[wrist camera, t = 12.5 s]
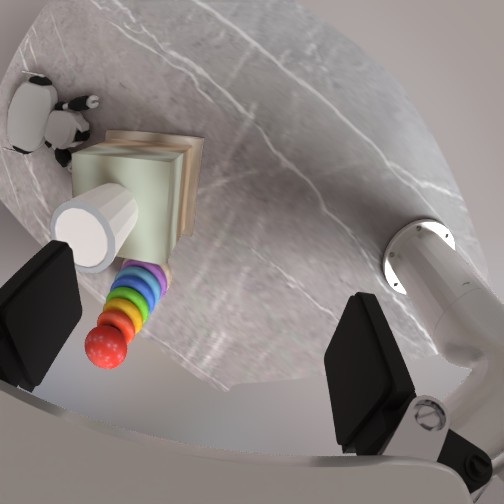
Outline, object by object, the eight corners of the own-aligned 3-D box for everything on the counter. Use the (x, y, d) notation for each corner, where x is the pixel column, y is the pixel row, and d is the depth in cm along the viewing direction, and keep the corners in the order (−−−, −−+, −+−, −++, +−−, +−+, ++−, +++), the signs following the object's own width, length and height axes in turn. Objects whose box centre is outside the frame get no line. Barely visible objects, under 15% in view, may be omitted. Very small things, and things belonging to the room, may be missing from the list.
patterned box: (204, 137, 36) (182, 153, 26) (193, 232, 42) (173, 274, 32) (109, 129, 35) (64, 144, 26) (108, 218, 41) (70, 254, 32)
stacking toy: (122, 244, 43) (59, 326, 27) (172, 250, 43) (126, 342, 27) (127, 288, 47) (78, 374, 30) (174, 294, 47) (138, 390, 31)
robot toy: (111, 93, 34) (34, 68, 30) (97, 94, 30) (16, 69, 26) (85, 172, 39) (14, 142, 35) (70, 182, 35) (-3, 149, 31)
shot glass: (82, 227, 30) (48, 258, 24) (90, 168, 27) (51, 190, 21) (137, 248, 31) (110, 285, 25) (150, 188, 28) (121, 215, 22)
